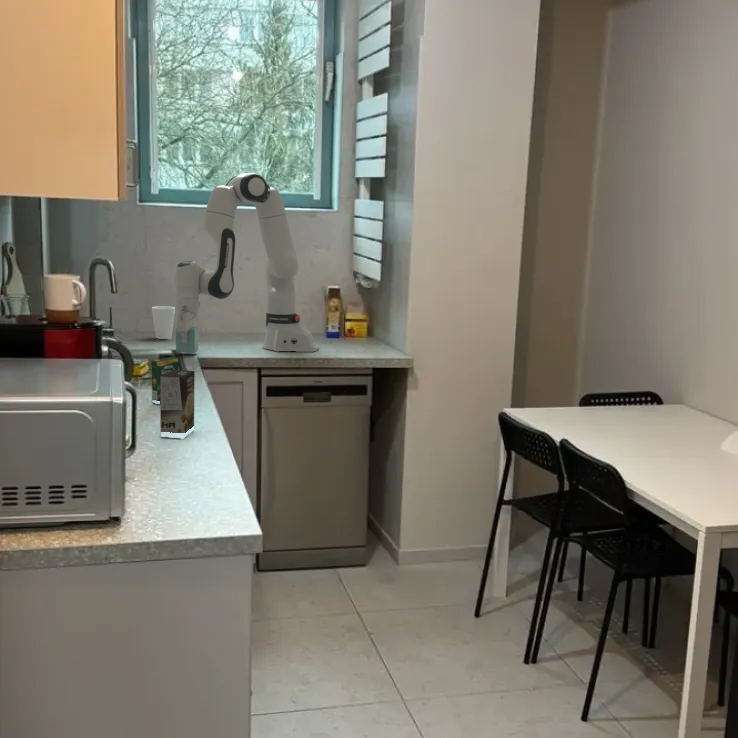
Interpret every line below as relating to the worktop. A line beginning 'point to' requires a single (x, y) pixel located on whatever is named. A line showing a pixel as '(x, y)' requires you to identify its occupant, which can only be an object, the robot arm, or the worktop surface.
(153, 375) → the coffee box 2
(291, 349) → the robot arm
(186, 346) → the grey-teal block
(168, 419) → the coffee box
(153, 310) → the foam cup
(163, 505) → the worktop surface
